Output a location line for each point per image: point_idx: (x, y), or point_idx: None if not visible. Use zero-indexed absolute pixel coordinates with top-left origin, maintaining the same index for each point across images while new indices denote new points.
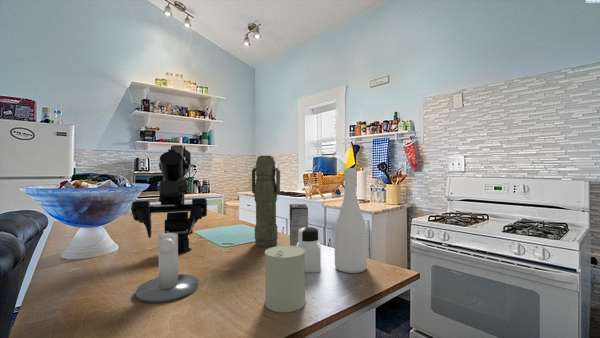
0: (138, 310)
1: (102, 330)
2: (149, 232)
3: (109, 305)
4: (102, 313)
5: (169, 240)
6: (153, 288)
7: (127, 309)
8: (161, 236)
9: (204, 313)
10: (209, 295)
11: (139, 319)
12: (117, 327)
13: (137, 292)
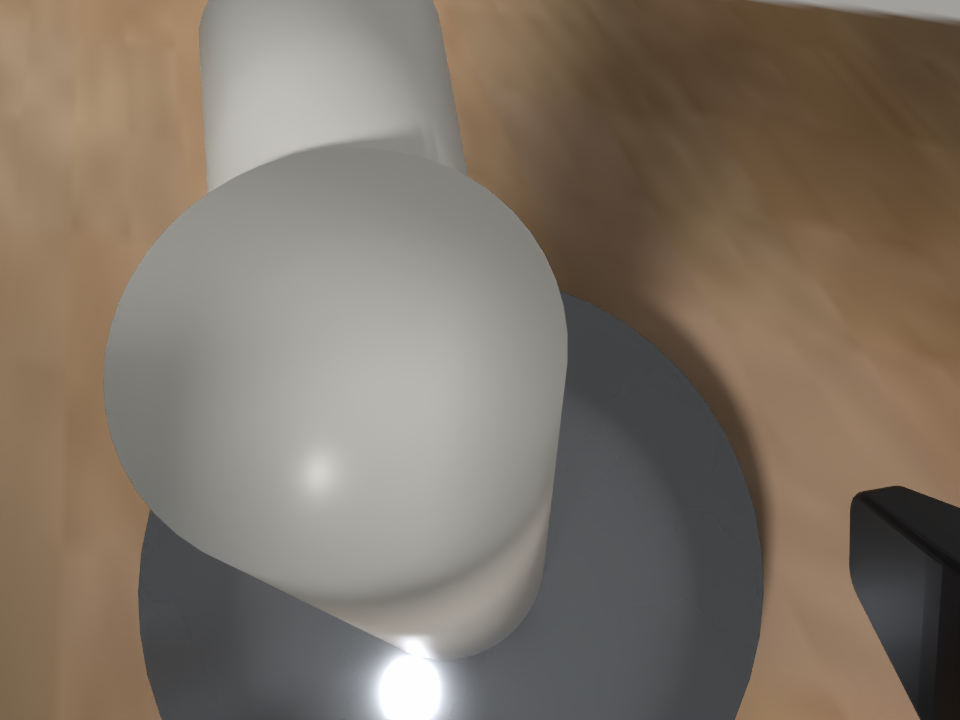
0: (578, 207)
1: (694, 8)
2: (918, 516)
3: (867, 321)
4: (837, 202)
5: (239, 17)
6: (578, 486)
7: (673, 234)
8: (454, 200)
9: (98, 105)
10: (55, 367)
11: (517, 92)
12: (618, 26)
13: (701, 413)
